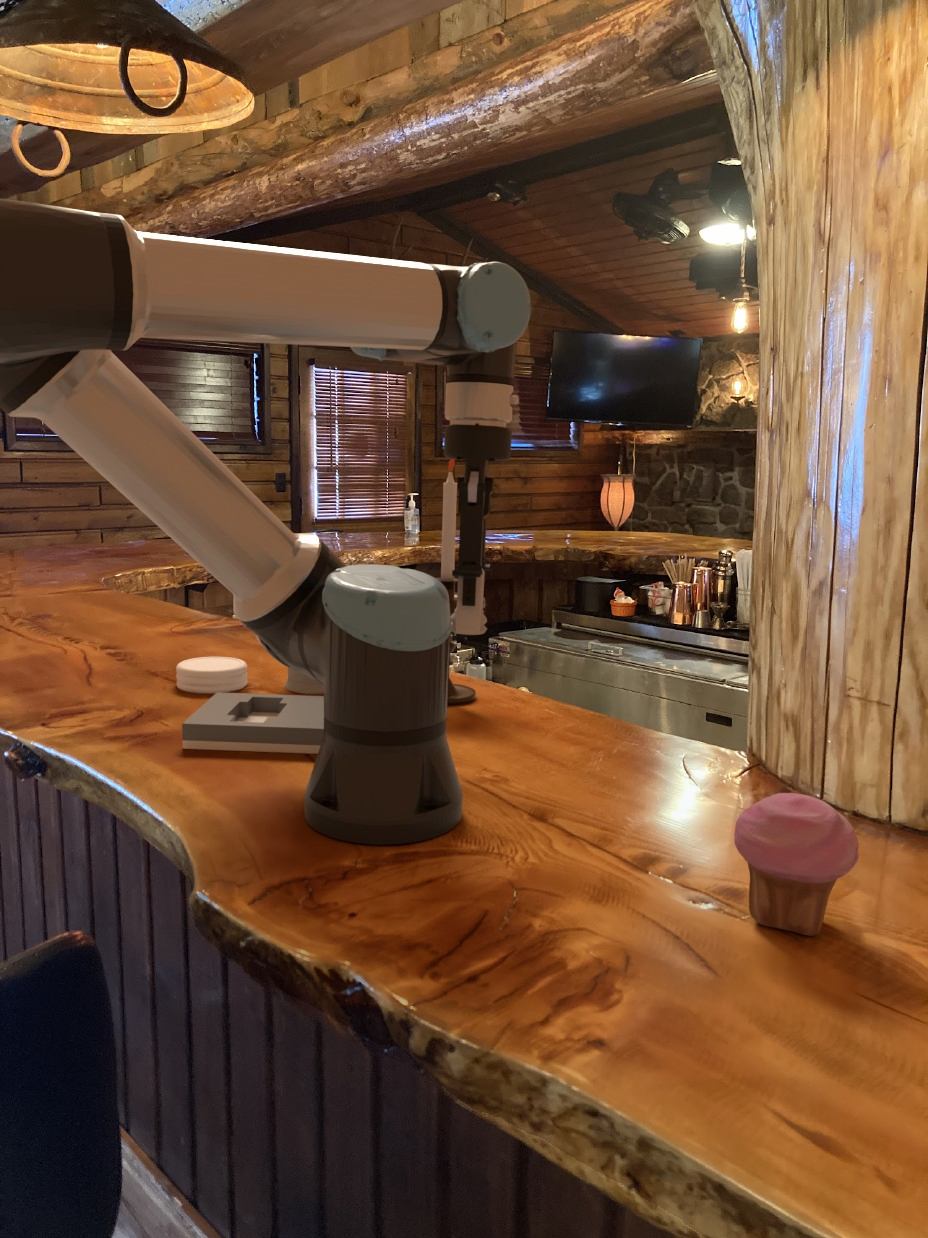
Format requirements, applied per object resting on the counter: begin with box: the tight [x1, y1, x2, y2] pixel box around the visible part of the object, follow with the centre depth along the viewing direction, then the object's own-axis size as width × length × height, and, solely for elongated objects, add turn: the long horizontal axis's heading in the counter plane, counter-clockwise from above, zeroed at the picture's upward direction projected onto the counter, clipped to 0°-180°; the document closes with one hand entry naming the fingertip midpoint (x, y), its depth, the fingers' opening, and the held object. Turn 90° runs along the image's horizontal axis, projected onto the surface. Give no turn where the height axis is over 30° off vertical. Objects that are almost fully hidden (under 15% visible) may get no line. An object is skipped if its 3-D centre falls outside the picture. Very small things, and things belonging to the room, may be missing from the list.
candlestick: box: [435, 459, 486, 707], centre depth 129 cm, size 11×11×35 cm
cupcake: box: [733, 792, 860, 937], centre depth 70 cm, size 9×9×10 cm
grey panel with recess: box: [181, 692, 324, 755], centre depth 112 cm, size 14×26×8 cm, turn 89°
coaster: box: [175, 656, 248, 695], centre depth 135 cm, size 10×10×4 cm
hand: (469, 628), depth 107 cm, fingers closed on rook chess piece, 4 cm apart
